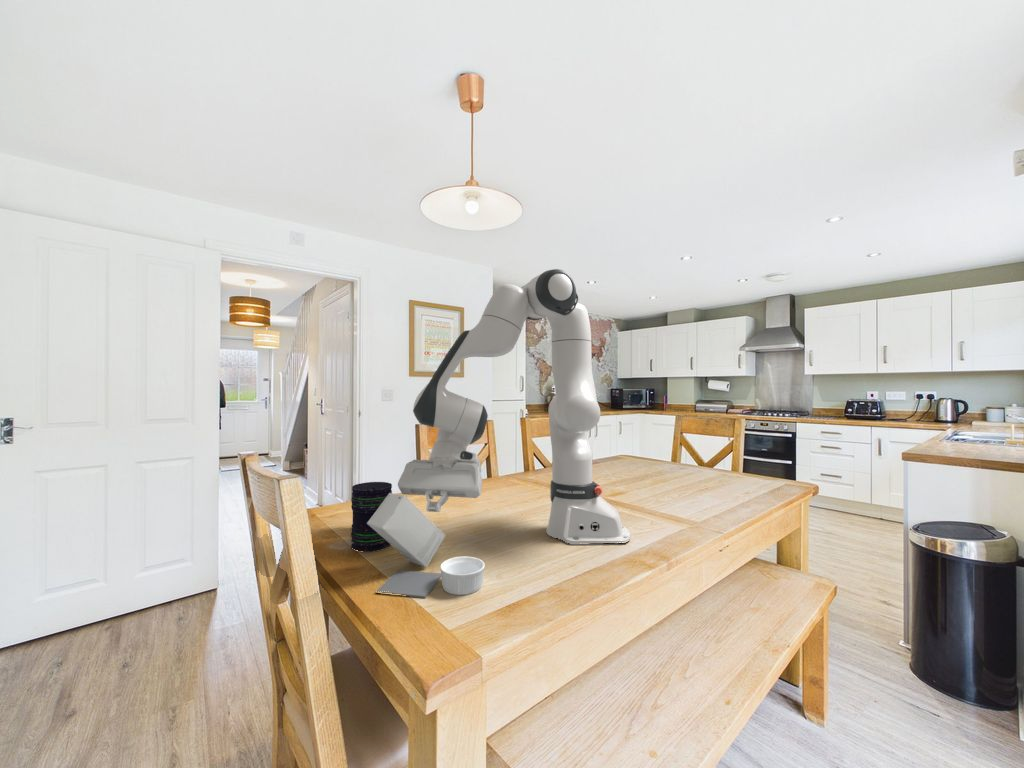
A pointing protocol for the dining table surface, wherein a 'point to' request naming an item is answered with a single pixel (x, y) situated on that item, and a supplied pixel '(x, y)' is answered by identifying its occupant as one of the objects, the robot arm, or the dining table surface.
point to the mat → (411, 583)
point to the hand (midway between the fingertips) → (432, 510)
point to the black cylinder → (367, 515)
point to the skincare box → (407, 529)
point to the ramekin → (462, 575)
